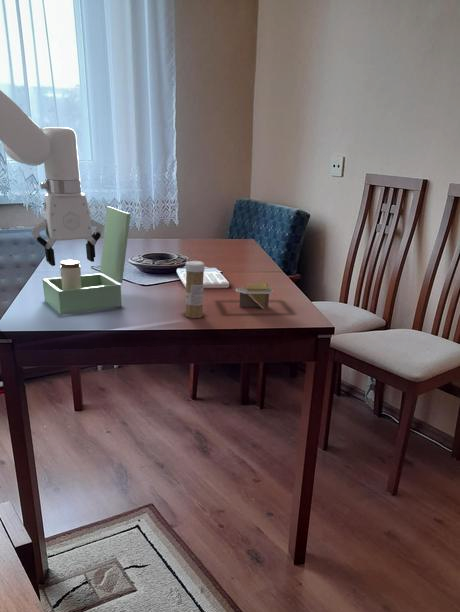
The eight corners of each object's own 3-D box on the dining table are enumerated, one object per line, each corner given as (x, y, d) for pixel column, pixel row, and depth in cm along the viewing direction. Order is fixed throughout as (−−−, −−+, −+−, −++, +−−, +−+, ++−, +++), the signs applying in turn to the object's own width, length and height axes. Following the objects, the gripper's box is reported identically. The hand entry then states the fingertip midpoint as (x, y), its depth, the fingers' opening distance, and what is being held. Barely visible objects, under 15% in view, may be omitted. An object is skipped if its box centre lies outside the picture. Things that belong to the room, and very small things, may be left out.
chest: (60, 317, 134) (58, 291, 131) (45, 303, 143) (42, 278, 140) (121, 309, 142) (120, 284, 139) (103, 296, 151) (101, 273, 148)
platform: (292, 314, 144) (295, 290, 141) (225, 315, 141) (226, 290, 138) (280, 301, 155) (283, 278, 152) (217, 302, 152) (218, 278, 149)
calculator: (185, 289, 162) (185, 282, 161) (175, 272, 179) (175, 266, 178) (230, 288, 165) (230, 282, 164) (216, 272, 182) (216, 266, 181)
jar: (67, 309, 137) (63, 265, 132) (61, 304, 140) (56, 260, 135) (86, 307, 139) (82, 263, 134) (79, 302, 142) (76, 259, 137)
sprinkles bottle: (184, 313, 141) (184, 260, 135) (202, 313, 142) (203, 260, 136) (186, 319, 137) (186, 264, 131) (204, 318, 138) (205, 264, 132)
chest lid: (127, 213, 132) (130, 213, 133) (106, 206, 142) (110, 206, 142) (119, 282, 138) (122, 283, 139) (100, 271, 148) (103, 271, 148)
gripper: (30, 190, 120) (40, 269, 128) (106, 188, 128) (111, 262, 136) (21, 187, 125) (31, 263, 133) (94, 184, 134) (99, 256, 142)
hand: (71, 262), depth 135 cm, fingers open, 9 cm apart
